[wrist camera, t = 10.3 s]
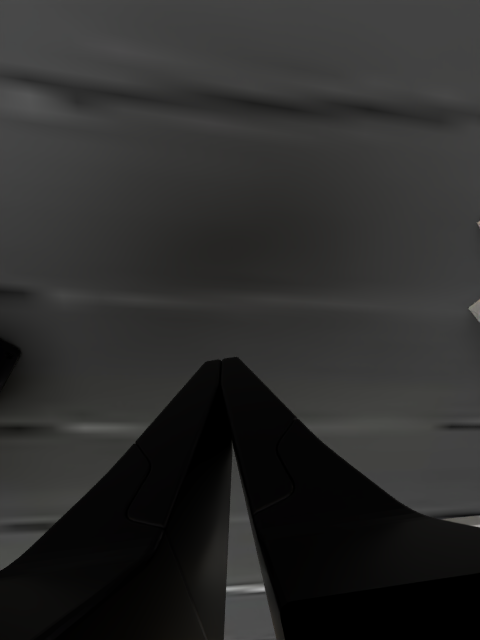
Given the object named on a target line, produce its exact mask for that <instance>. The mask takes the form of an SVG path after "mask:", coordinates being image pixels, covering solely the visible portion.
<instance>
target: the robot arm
mask: <svg viewBox="0 0 480 640" xmlns="http://www.w3.org/2000/svg"><path fill="white" fill-rule="evenodd" d="M9 353H11V354H12V355H13V356H11V355H9ZM19 357H20V351H19V350H18V349H17V348H16V347H14V346H12V345H10V344H8V343H6V342H4V341H2V340H0V392H1V390H2V388H3V386H4V384H5V383H6V381H7V379H8V377H9V375H10V374H11V372H12V370H13V368H14V366H15V365H16V363H17V361H18V359H19ZM232 443H233V448H234V452H235V457H236V461H237V466H238V470H239V475H240V479H241V484H242V488H243V493H244V497H245V501H246V506H247V510H248V515H249V519H250V524H251V528H252V533H253V537H254V542H255V546H256V551H257V555H258V560H259V564H260V568H261V573H262V577H263V582H264V586H265V591H266V595H267V600H268V604H269V609H270V613H271V618H272V622H273V626H274V631H275V635H276V640H480V527H476V526H471V525H466V524H461V523H456V522H451V521H446V520H442V519H437V518H432V517H429V516H426V515H423V514H420V513H418V512H416V511H414V510H412V509H410V508H408V507H407V506H405V505H404V504H402V503H400V502H399V501H397V500H396V499H395V498H393V497H392V496H390V495H389V494H388V493H386V492H385V491H384V490H383V489H381V488H380V487H379V486H377V485H376V484H375V483H373V482H372V481H371V480H370V479H368V478H367V477H366V476H364V475H363V474H362V473H361V472H359V471H358V470H357V469H355V468H354V467H353V466H351V465H350V464H349V463H348V462H346V461H345V460H344V459H342V458H341V457H340V456H339V455H337V454H336V453H335V452H334V451H333V450H331V449H330V448H329V447H328V446H326V445H325V444H324V443H323V442H322V441H321V440H319V439H318V438H317V437H316V436H315V435H314V434H313V433H312V432H311V431H310V430H309V429H308V428H307V427H306V426H305V425H304V424H303V423H302V422H301V421H300V420H299V419H297V417H296V416H295V415H294V414H293V413H292V412H291V411H290V410H289V409H288V408H287V407H286V406H285V405H284V404H283V403H282V402H281V401H280V400H279V399H278V398H277V397H276V396H275V395H274V394H273V393H272V392H271V390H270V389H269V388H268V387H267V386H266V385H265V384H264V383H263V382H262V381H261V380H260V379H259V378H258V377H257V376H256V375H255V374H254V373H253V372H252V371H251V370H250V369H249V368H248V367H247V366H246V365H245V364H244V363H243V362H242V361H241V360H240V359H239V358H238V357H231V358H225V359H223V360H222V361H221V360H212V361H207V362H205V363H204V364H203V365H202V366H201V367H200V369H199V370H198V371H197V372H196V373H195V374H194V375H193V377H192V378H191V379H190V380H189V381H188V382H187V383H186V385H185V386H184V387H183V388H182V389H181V390H180V391H179V393H178V394H177V395H176V396H175V397H174V398H173V399H172V401H171V402H170V403H169V404H168V405H167V406H166V407H165V409H164V410H163V411H162V412H161V413H160V414H159V415H158V417H157V418H156V419H155V420H154V421H153V422H152V423H151V425H150V426H149V427H148V428H147V429H146V430H145V431H144V433H143V434H142V435H141V436H140V437H139V438H138V439H137V441H136V444H133V445H132V446H131V447H130V448H129V450H128V451H127V452H126V453H125V454H124V455H123V456H122V457H121V459H120V460H119V461H118V462H117V463H116V464H115V465H114V466H113V467H112V468H111V469H110V470H109V472H108V473H107V474H106V475H105V476H104V477H103V478H102V479H101V480H100V481H99V482H98V483H97V484H96V485H95V486H94V487H93V488H92V489H91V490H90V491H89V492H88V493H87V494H86V495H85V496H83V497H82V498H81V499H80V500H79V501H78V502H77V503H76V504H75V505H74V506H73V507H72V508H71V509H70V510H69V511H68V512H67V513H66V514H65V515H64V516H63V517H62V518H61V519H59V520H58V521H57V522H56V523H55V524H54V525H53V526H52V527H51V528H50V529H49V530H48V531H47V532H46V533H45V534H44V535H43V536H42V537H41V538H40V539H39V540H38V541H37V542H35V543H34V544H33V545H32V546H31V547H30V548H29V549H28V550H27V551H26V552H25V553H24V554H22V555H21V556H20V557H19V558H18V559H16V560H15V561H14V562H13V563H11V564H10V565H9V566H7V567H6V568H4V569H3V570H1V571H0V640H224V622H225V600H226V578H227V556H228V534H229V513H230V491H231V469H232Z"/></svg>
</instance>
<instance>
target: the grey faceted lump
mask: <svg viewBox="0 0 480 640" xmlns="http://www.w3.org/2000/svg"><path fill="white" fill-rule="evenodd" d="M477 224H478V226H479V227H480V221H479V222H478V223H477ZM468 309H469V310H470V311H471V312H472V314H473V315H474V316H475V317H476V319H477V320H478V321H479V322H480V299H479V300H478V301H477V302H475V303H474V304H473V305H472V306H470V307H469V308H468Z"/></svg>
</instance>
